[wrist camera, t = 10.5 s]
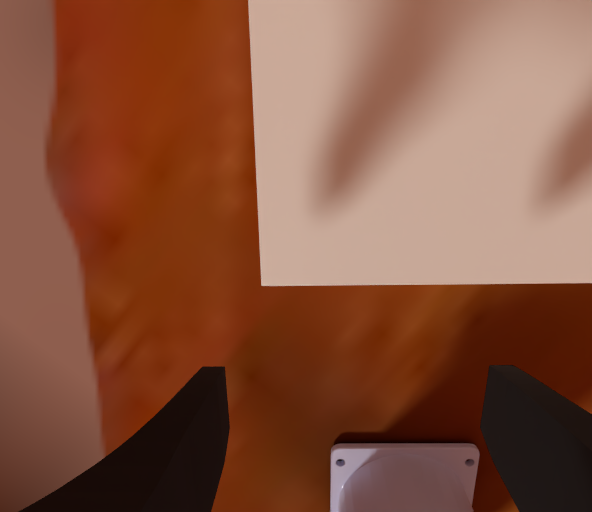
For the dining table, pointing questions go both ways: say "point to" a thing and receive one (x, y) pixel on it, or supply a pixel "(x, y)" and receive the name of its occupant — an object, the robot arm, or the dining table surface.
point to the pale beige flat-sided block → (423, 141)
